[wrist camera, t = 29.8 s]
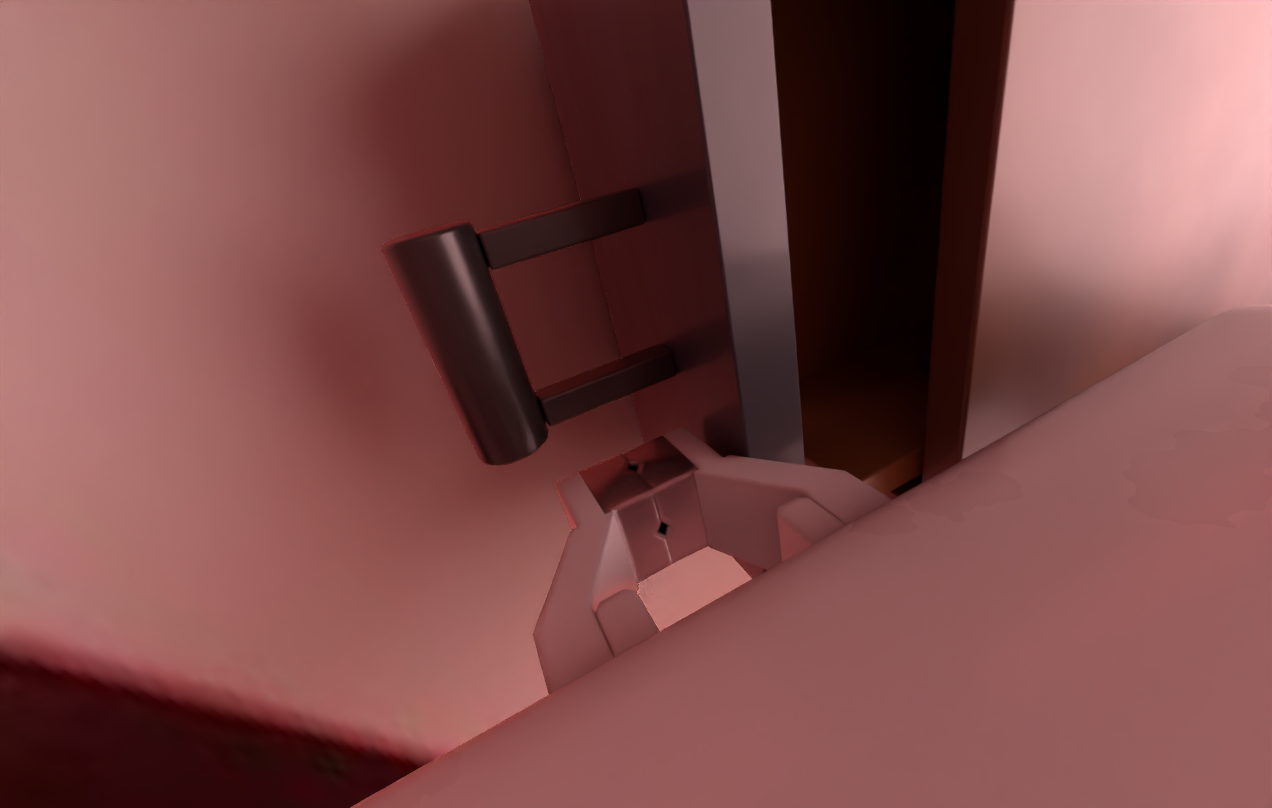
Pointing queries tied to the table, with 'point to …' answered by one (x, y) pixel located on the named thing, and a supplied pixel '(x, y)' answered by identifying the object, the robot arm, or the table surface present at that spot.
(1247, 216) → the cabinet
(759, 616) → the robot arm
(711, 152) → the drawer
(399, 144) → the table surface
